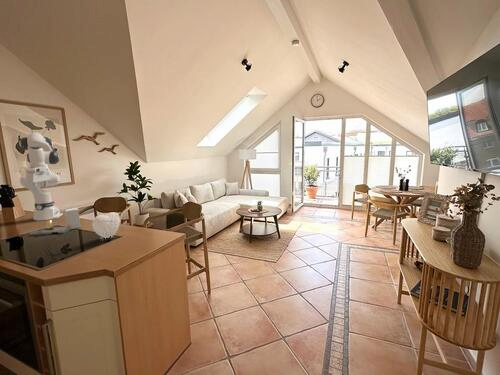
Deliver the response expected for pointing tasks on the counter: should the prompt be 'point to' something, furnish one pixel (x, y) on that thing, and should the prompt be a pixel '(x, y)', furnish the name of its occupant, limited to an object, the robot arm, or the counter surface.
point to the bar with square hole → (50, 231)
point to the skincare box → (72, 218)
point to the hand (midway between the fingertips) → (40, 187)
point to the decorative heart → (106, 224)
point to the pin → (49, 224)
